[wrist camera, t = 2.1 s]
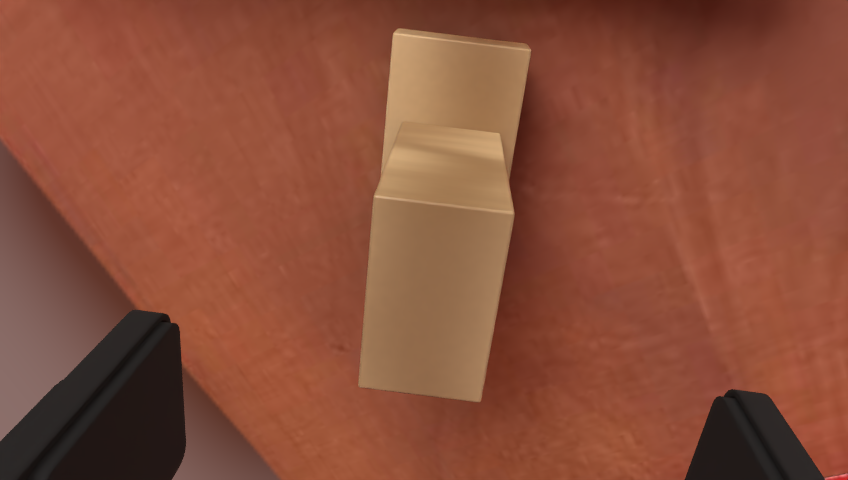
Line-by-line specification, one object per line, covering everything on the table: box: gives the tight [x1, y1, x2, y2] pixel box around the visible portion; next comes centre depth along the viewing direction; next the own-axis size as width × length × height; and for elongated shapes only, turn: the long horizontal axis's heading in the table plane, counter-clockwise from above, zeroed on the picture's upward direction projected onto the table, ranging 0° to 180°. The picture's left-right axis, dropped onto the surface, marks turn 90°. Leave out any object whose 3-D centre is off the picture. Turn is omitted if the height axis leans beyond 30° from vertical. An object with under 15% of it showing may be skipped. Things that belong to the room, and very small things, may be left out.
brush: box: [358, 28, 531, 402], centre depth 19 cm, size 4×10×9 cm, turn 174°
